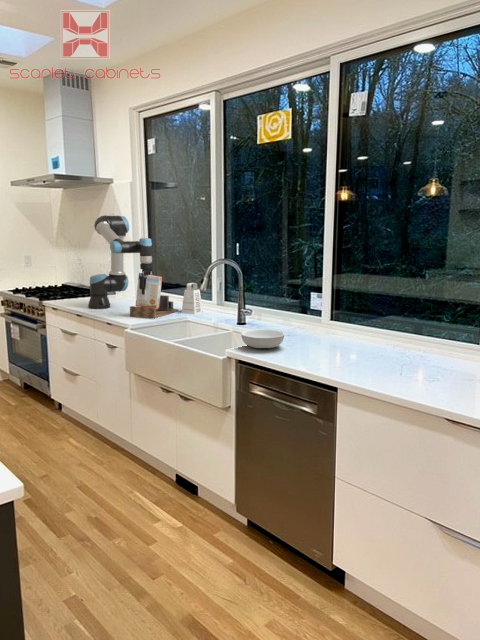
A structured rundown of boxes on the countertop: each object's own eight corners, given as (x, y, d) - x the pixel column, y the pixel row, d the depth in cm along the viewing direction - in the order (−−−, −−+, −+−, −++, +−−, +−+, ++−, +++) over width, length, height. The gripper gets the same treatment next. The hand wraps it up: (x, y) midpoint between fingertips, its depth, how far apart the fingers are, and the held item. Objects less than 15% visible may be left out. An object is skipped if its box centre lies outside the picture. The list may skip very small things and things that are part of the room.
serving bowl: (269, 340, 242) (269, 327, 241) (292, 349, 224) (293, 335, 223) (233, 344, 232) (233, 330, 231) (254, 354, 214) (254, 339, 213)
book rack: (130, 316, 304) (129, 306, 302) (155, 309, 332) (154, 300, 331) (154, 318, 297) (154, 308, 296) (177, 311, 326) (177, 302, 325)
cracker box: (159, 308, 307) (162, 276, 303) (156, 309, 301) (159, 277, 297) (138, 304, 308) (141, 273, 304) (135, 306, 303) (138, 273, 298)
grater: (202, 312, 324) (202, 283, 321) (194, 314, 315) (194, 284, 311) (190, 310, 329) (190, 282, 325) (181, 312, 320) (181, 283, 316)
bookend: (149, 309, 321) (148, 294, 319) (156, 307, 330) (156, 293, 328) (167, 310, 316) (167, 296, 314) (174, 308, 325) (174, 294, 324)
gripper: (142, 263, 289) (144, 301, 293) (159, 262, 307) (160, 297, 311) (132, 263, 292) (133, 300, 296) (149, 261, 310) (150, 296, 314)
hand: (147, 298), depth 304 cm, fingers closed on cracker box, 7 cm apart
